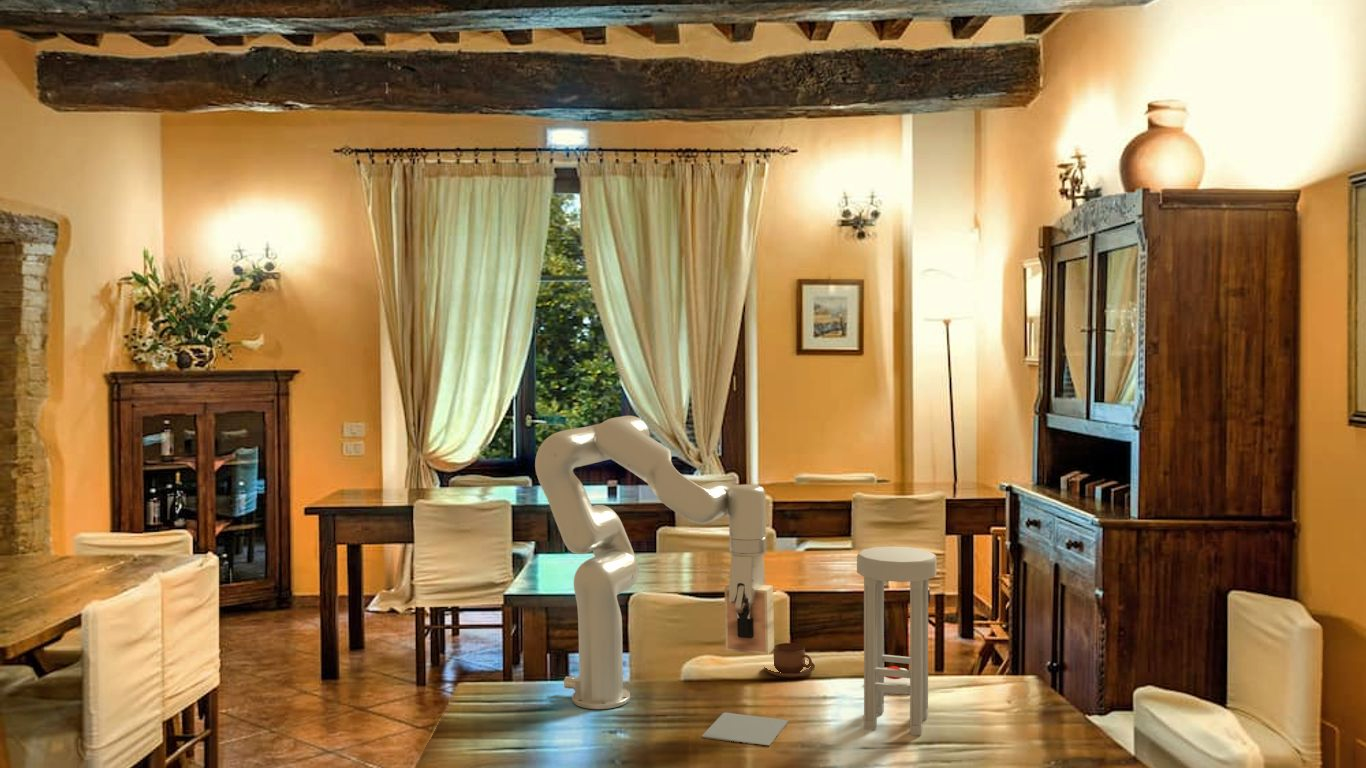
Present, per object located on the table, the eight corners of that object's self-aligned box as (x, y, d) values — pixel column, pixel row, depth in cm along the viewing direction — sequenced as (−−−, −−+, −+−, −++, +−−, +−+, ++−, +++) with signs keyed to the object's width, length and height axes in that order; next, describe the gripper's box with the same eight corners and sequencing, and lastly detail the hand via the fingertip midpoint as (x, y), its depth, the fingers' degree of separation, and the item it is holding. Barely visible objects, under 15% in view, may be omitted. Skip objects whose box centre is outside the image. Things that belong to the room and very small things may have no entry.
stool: (865, 705, 230) (865, 544, 228) (939, 713, 225) (939, 548, 223) (851, 731, 216) (851, 558, 214) (930, 740, 210) (930, 563, 209)
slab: (725, 650, 219) (724, 587, 219) (732, 644, 224) (731, 582, 223) (767, 654, 216) (766, 590, 216) (774, 648, 220) (773, 585, 220)
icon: (865, 659, 250) (908, 660, 248) (865, 677, 250) (908, 679, 248) (866, 676, 238) (912, 677, 236) (866, 695, 238) (912, 696, 236)
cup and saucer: (819, 668, 257) (819, 642, 256) (808, 683, 245) (808, 657, 245) (770, 663, 260) (770, 638, 260) (757, 678, 249) (757, 652, 249)
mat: (701, 737, 213) (701, 736, 213) (723, 713, 226) (723, 712, 226) (769, 746, 208) (769, 745, 208) (788, 721, 221) (788, 720, 221)
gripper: (743, 537, 228) (744, 622, 229) (716, 552, 212) (718, 644, 213) (777, 539, 225) (778, 624, 226) (753, 554, 210) (754, 647, 211)
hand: (749, 633), depth 220 cm, fingers closed on slab, 4 cm apart
